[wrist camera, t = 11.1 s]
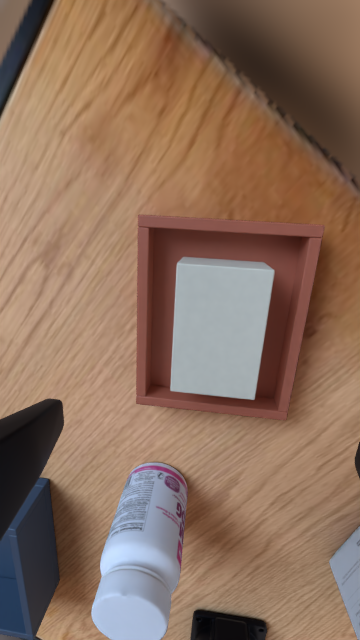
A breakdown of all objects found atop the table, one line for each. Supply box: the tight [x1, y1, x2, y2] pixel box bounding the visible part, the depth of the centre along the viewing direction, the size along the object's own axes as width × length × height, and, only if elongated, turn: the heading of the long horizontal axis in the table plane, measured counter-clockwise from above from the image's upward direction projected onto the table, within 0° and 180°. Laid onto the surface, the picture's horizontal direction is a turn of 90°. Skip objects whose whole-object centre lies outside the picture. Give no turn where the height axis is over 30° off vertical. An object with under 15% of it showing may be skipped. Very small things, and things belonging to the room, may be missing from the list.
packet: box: [170, 257, 275, 400], centre depth 16 cm, size 7×5×3 cm, turn 177°
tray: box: [136, 215, 324, 420], centre depth 17 cm, size 11×9×2 cm
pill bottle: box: [92, 462, 188, 640], centre depth 19 cm, size 5×5×8 cm
